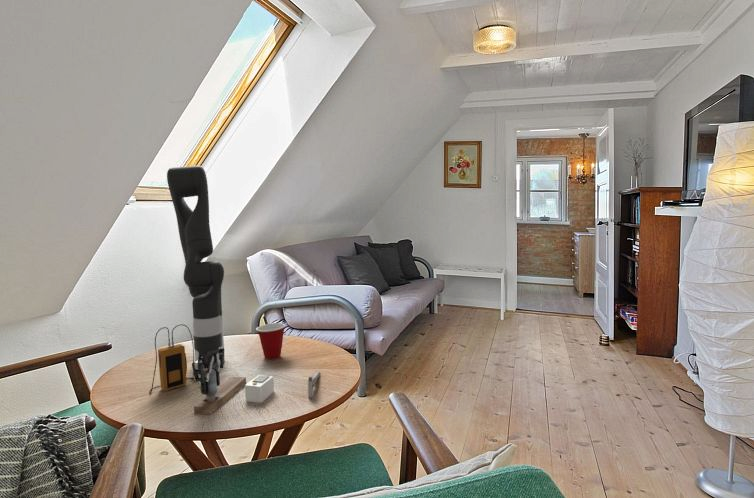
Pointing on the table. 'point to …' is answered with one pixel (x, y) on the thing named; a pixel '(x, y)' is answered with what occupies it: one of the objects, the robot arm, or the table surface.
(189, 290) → the robot arm
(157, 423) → the table surface
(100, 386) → the table surface
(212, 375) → the grey stepped cylinder
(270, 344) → the plastic cup
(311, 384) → the caliper
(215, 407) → the bar
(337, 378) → the table surface
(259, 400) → the block
